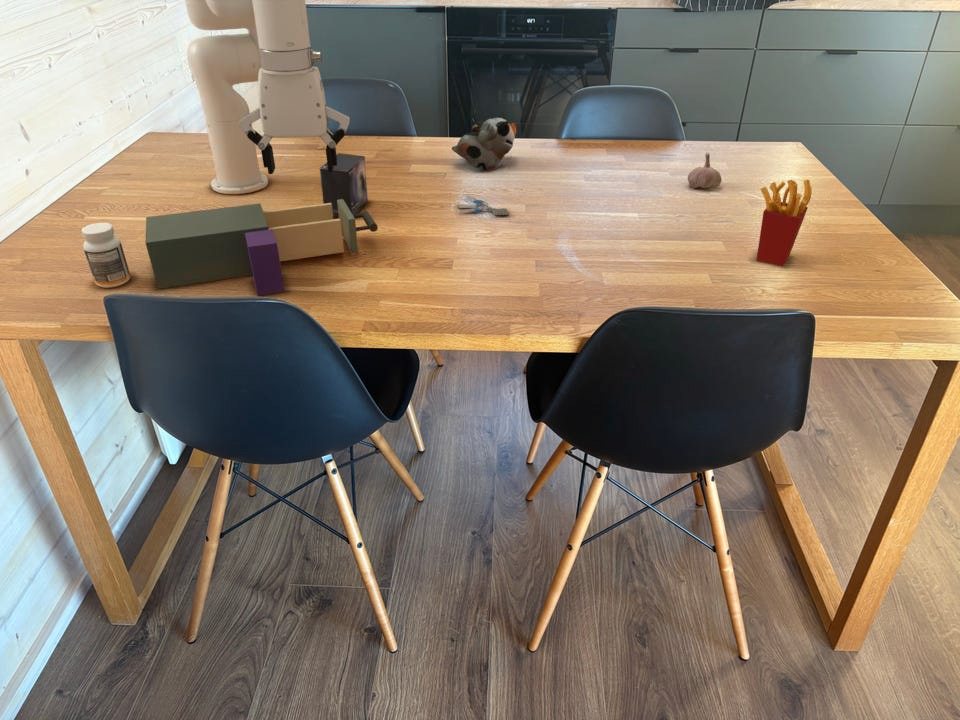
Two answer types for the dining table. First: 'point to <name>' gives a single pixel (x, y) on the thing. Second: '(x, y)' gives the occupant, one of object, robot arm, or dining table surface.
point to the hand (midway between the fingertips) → (301, 170)
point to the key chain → (495, 211)
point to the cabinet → (202, 244)
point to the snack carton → (265, 262)
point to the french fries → (781, 222)
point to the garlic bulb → (704, 176)
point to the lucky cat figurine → (487, 143)
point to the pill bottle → (105, 255)
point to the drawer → (315, 230)
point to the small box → (345, 183)
